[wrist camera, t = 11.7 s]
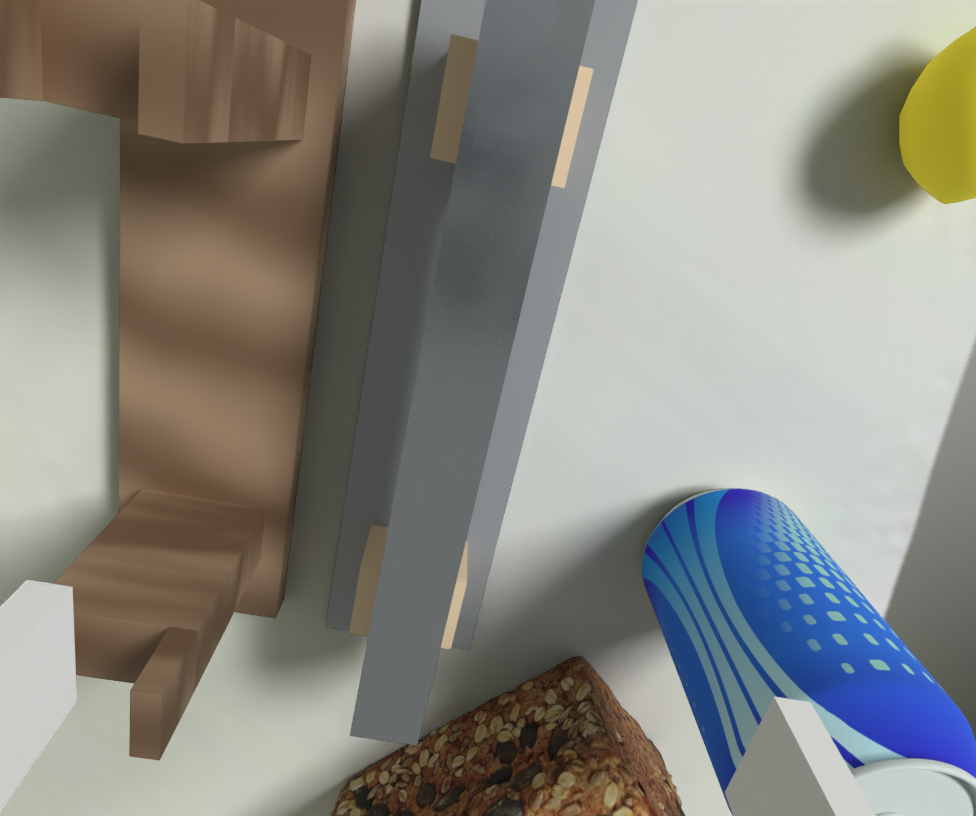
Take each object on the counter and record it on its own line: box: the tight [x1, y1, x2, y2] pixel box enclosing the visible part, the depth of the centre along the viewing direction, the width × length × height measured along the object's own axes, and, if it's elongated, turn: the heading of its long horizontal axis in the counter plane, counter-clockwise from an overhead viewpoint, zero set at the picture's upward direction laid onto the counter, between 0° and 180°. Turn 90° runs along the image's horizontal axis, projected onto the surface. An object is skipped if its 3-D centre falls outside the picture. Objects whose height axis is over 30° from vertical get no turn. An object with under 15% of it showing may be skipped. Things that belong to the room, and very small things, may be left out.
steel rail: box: [350, 0, 595, 745], centre depth 26 cm, size 30×3×4 cm, turn 168°
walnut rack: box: [0, 0, 356, 760], centre depth 24 cm, size 30×8×13 cm, turn 168°
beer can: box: [642, 488, 976, 816], centre depth 28 cm, size 8×8×16 cm
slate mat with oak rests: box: [326, 0, 638, 650], centre depth 29 cm, size 32×8×4 cm, turn 168°
